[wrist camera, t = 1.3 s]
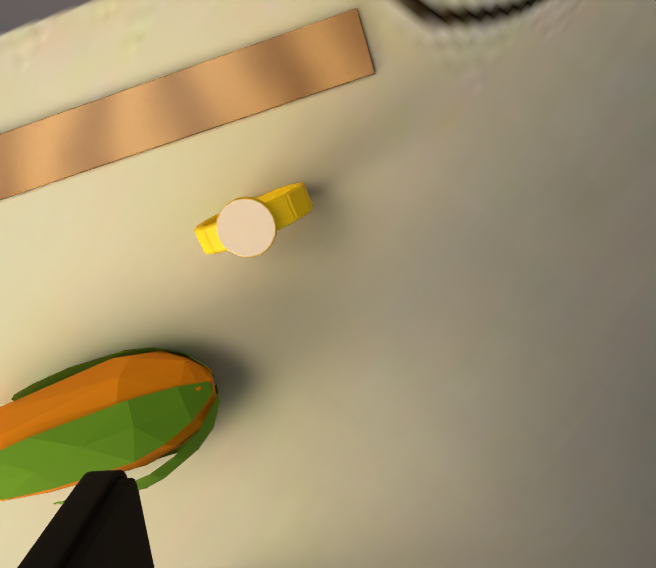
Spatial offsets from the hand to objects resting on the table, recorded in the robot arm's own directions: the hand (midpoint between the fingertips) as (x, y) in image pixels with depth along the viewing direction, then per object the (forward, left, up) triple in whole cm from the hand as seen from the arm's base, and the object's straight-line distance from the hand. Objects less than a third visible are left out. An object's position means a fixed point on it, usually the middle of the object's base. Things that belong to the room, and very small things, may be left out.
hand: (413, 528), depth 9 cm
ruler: (+12, -10, -24) cm, 28 cm away
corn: (+20, +6, -24) cm, 32 cm away
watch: (+5, -3, -24) cm, 25 cm away
